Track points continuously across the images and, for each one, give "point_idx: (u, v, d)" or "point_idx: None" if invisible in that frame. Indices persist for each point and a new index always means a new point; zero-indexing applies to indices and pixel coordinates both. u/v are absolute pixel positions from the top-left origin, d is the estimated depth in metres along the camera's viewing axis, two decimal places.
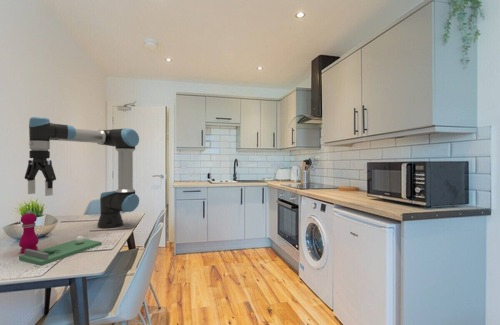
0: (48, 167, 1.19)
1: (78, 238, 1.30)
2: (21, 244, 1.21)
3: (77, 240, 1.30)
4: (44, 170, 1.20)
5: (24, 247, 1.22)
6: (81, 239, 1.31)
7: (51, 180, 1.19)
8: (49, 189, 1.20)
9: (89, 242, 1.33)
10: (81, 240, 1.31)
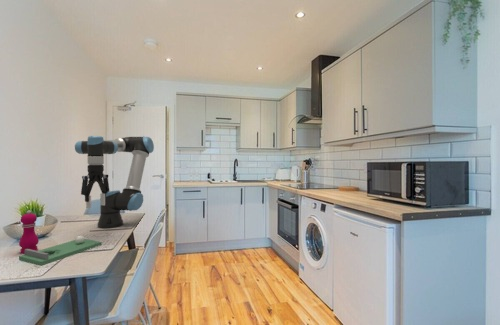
0: (83, 183, 1.34)
1: (78, 238, 1.30)
2: (21, 244, 1.21)
3: (77, 240, 1.30)
4: (88, 184, 1.37)
5: (24, 247, 1.22)
6: (81, 239, 1.31)
7: None
8: (88, 202, 1.36)
9: (89, 242, 1.33)
10: (81, 240, 1.31)
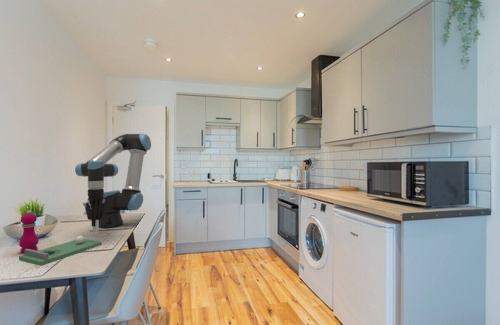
0: (86, 209, 1.35)
1: (78, 238, 1.30)
2: (21, 244, 1.21)
3: (77, 240, 1.30)
4: (91, 209, 1.38)
5: (24, 247, 1.22)
6: (81, 239, 1.31)
7: (90, 219, 1.37)
8: (94, 227, 1.39)
9: (89, 242, 1.33)
10: (81, 240, 1.31)
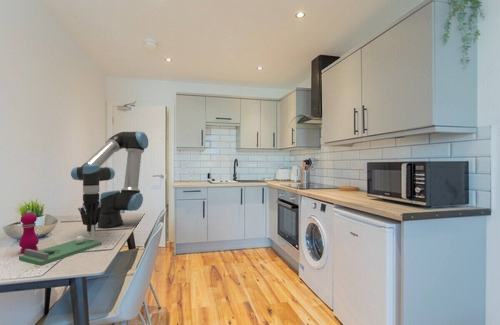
0: (81, 214, 1.33)
1: (78, 238, 1.30)
2: (21, 244, 1.21)
3: (77, 240, 1.30)
4: (87, 214, 1.36)
5: (24, 247, 1.22)
6: (81, 239, 1.31)
7: None
8: (90, 232, 1.37)
9: (89, 242, 1.33)
10: (81, 240, 1.31)
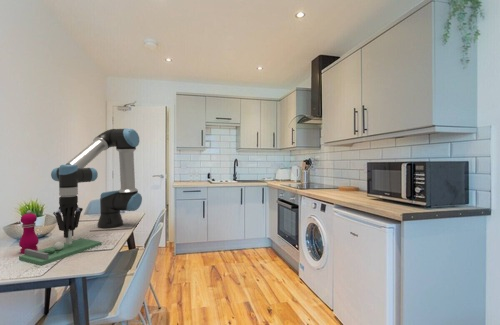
0: (57, 219, 1.22)
1: (61, 242, 1.23)
2: (21, 244, 1.21)
3: (59, 242, 1.22)
4: (63, 218, 1.25)
5: (24, 247, 1.22)
6: (62, 245, 1.22)
7: (62, 230, 1.24)
8: (67, 238, 1.26)
9: (89, 242, 1.33)
10: (61, 245, 1.22)
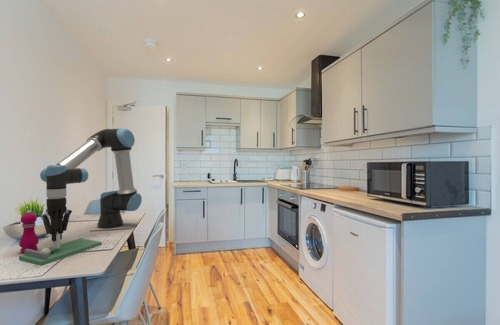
0: (44, 222, 1.17)
1: None
2: (21, 244, 1.21)
3: None
4: (51, 221, 1.20)
5: (24, 247, 1.22)
6: None
7: (49, 233, 1.19)
8: (55, 241, 1.21)
9: (89, 242, 1.33)
10: (48, 252, 1.17)
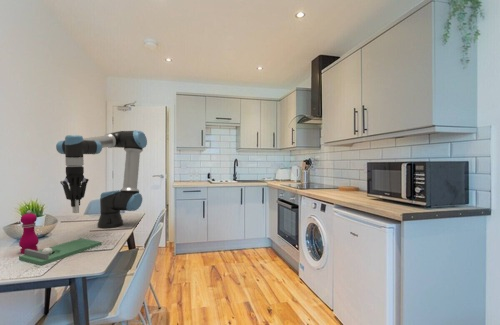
0: (64, 188, 1.25)
1: None
2: (21, 244, 1.21)
3: None
4: (70, 188, 1.28)
5: (24, 247, 1.22)
6: (49, 252, 1.17)
7: (69, 199, 1.27)
8: (74, 207, 1.29)
9: (89, 242, 1.33)
10: (50, 252, 1.18)
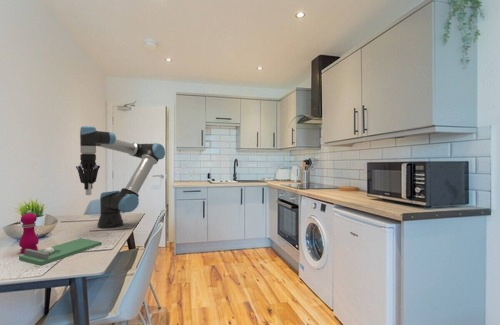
0: (79, 172, 1.42)
1: None
2: (21, 244, 1.21)
3: None
4: (84, 173, 1.45)
5: (24, 247, 1.22)
6: (50, 252, 1.18)
7: (83, 183, 1.44)
8: (87, 190, 1.46)
9: (89, 242, 1.33)
10: (51, 252, 1.18)
